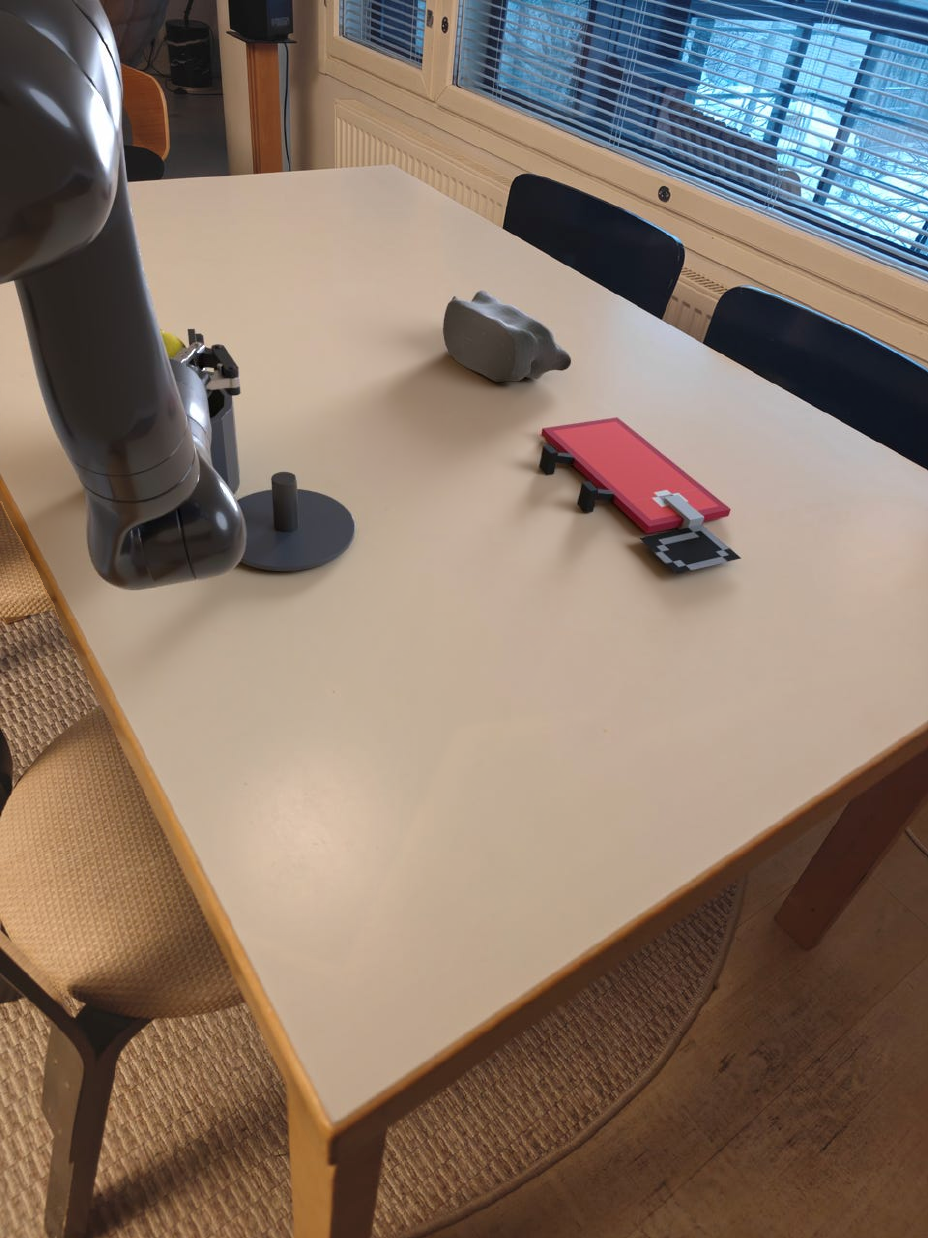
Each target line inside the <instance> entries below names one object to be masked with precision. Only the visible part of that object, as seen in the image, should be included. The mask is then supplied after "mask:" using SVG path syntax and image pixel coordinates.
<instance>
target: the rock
mask: <svg viewBox="0 0 928 1238" xmlns="http://www.w3.org/2000/svg"><path fill="white" fill-rule="evenodd" d="M442 324H443V325H442V334H443V339H444V344H445V347H446V349H447V351H448V353H449V354H450V356H451V357H452V359H453V360H454V361H456V362H457V363H458V364H459V365H461V366H463V367H464V368H466V369H469V370H471V371H473V372H476V373H478V374H480V375H483V376H484V377H486V378H488V379H490V380H491V381H493V382H495V383H501V382H507V381H508V382H509V381H510V382H512V381H514V382H519V381H521V380H523V379H524V378H528V379H533V380H538V379H539V380H540V378H542V376H543V375H544V374H546V373H549V372H550V371H558V372H559V371H560V372H562V371H565V370H568V368H569V367H570V366H571V364H572V358H571V356H570V354H569V353H568V352H567V351H566V350H565V349H563V348H562V347H561V346H560V345H558V344H557V343H556V342H555V335H554V334H553V332H552V331H551V330H550V329H549V328H548V327H547V326H545V325H544V324H543V323H542V322H540V320H538V319H536V318H534V317H531V316H529V315H527V314H526V312H523V311H522V310H521V309H520V308H518V307H517V306H515V305H511V304H507V303H504V302H502V301H500V300H498V299H497V298H496V297H494V296H493V295H491V294H490V293H488V292H487V291H485V290H479V291H477V292H476V293H475V294H474V296H473V298H471V301H467V300H464V299H458V297H457V296H453V297H452V298H451V300H450V301H449V302H448V303H447V305H446V308H445V312H444V316H443V323H442Z"/></svg>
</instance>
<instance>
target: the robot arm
mask: <svg viewBox="0 0 928 1238" xmlns="http://www.w3.org/2000/svg"><path fill="white" fill-rule="evenodd" d="M122 73H123V72H122V65H121V60H120V54H119V51H118V46H117V43H116V38H115V35H114V31H113V28H112V26H111V23H110V20H109V17H108V16H107V14H106V11H105V9H104V8H103V5H102V4H101V1H100V0H0V285H3V284H8V283H11V282H13V284H14V286H15V290H16V294H17V298H18V300H19V301H18V302H19V305H20V309H21V313H22V317H23V321H24V325H25V326H24V327H25V330H26V331H25V332H26V335H27V339H28V340H27V341H28V344H29V349H30V355H31V357H32V362H33V363H32V364H33V367H34V371H35V375H36V379H37V383H38V386H39V390H40V393H41V397H42V400H43V403H44V406H45V409H46V412H47V415H48V418H49V420H50V421H49V422H50V423H51V426H52V428H53V430H54V433H55V435H56V437H57V439H58V441H59V443H60V445H61V447H62V449H63V451H64V452H65V454H66V456H67V458H68V461H69V462H70V464H71V466H72V468H73V470H74V471H75V474H76V475H77V477H78V479H79V482H80V483H81V485H82V489H83V492H84V496H85V501H86V520H85V521H86V522H85V524H86V526H85V533H86V534H85V535H86V545H87V551H88V556H89V559H90V563H91V564H92V566H93V568H94V570H95V572H96V573H97V575H98V576H99V577H100V578H101V579H102V580H103V581H105V582H106V583H107V584H109V585H111V586H113V587H115V588H118V589H121V590H124V591H143V590H148V589H153V588H154V589H155V588H158V587H159V588H160V587H166V586H172V585H175V584H176V585H177V584H182V583H188V582H193V581H197V580H198V581H200V580H206V579H211V578H216V577H220V576H223V575H225V574H228V573H229V572H231V571H233V569H235V568H236V567H237V566H238V565H239V564H240V563H241V562H240V560H241V559H242V557H243V555H244V552H245V550H246V546H247V528H246V523H245V519H244V516H243V513H242V511H241V508H240V506H239V504H238V502H237V500H238V499H237V498H236V497H235V494H234V495H233V493H232V491H231V490H230V488H229V487H228V485H227V484H226V483H225V481H224V480H223V479H222V478H221V476H220V475H219V474H218V473H217V472H216V470H215V469H214V468H213V465H212V460H211V451H210V447H211V440H212V427H211V423H210V415H209V407H208V399H207V398H208V397H209V396H210V395H211V393H212V390H217V389H220V390H224V389H225V390H226V392H227V394H229V395H232V396H233V397H234V396H239V395H241V393H242V392H241V382H240V381H241V380H240V370H239V369H240V368H239V366H238V365H237V363H236V361H235V360H234V359H233V356H232V355H231V354H230V353H229V351H228V349H227V348H226V347H225V345H223V344H220V343H217V344H212V345H211V347H206V346H205V339H204V335H203V334H202V333H201V332H200V333H196V328H187V338H188V347H186V348H182V349H181V350H180V351H179V352H178V353H177V354H176V355H175V356H174V357H170V358H168V354H167V351H166V348H165V344H164V341H163V338H162V334H161V331H160V329H161V328H160V323H159V320H158V317H157V314H156V310H155V306H154V302H153V299H152V295H151V292H150V288H149V284H148V279H147V275H146V272H145V268H144V263H143V258H142V254H141V248H140V244H139V239H138V235H137V234H138V233H137V228H136V223H135V217H134V214H133V207H132V201H131V197H130V196H131V195H130V188H129V184H128V183H129V182H128V176H127V169H126V167H127V166H126V160H125V158H126V157H125V149H124V148H125V147H124V138H123V137H124V136H123V125H122V124H123V105H124V104H123V103H124V85H123V74H122ZM208 369H213V372H214V375H212V376H209V374H208V373H206V372H205V371H208Z"/></svg>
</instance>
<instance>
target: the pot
mask: <svg viewBox="0 0 928 1238" xmlns="http://www.w3.org/2000/svg"><path fill="white" fill-rule="evenodd" d="M205 372H206V373H208V374H209V376H212V375H214V371H209V370H206V371H205ZM207 399H208V407H209V415H210V423H211V427H212V440H211V447H210V451H211V460H212V465H213V468H214V469H215V470H216V472H217V473H218V474H219V475H220V476H221V478H222V479H223V480H224V481H225V483H226V484H227V485H228V487H229V488H230V490H231V491H232V493H233V495H234V496H235V495H236V493H237V491H238V489H239V487H240V484H241V483H240V482H241V481H240V474H241V473H240V461H239V451H238V439H237V429H236V427H237V426H236V418H235V417H236V416H235V406H234V396H232V395H229V394H227V392H226V390H225V389H224V390H220V389H217V390H212V393H211V395H210V396H209V397H208V398H207Z"/></svg>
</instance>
